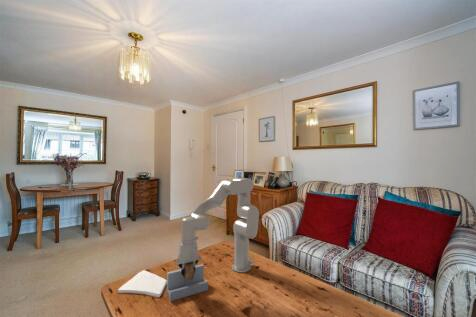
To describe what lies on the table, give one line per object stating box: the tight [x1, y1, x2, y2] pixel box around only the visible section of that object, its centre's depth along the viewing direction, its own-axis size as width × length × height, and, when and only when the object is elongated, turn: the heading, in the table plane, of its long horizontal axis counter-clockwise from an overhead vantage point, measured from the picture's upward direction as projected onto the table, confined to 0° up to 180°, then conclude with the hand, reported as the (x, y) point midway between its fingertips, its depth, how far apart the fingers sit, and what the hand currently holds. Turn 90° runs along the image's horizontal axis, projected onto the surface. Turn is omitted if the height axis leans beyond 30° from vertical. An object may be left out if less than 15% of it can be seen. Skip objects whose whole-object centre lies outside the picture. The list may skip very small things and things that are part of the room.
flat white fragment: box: [117, 269, 167, 298], centre depth 119 cm, size 21×4×25 cm
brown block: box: [184, 262, 194, 281], centre depth 113 cm, size 4×6×8 cm
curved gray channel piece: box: [166, 264, 209, 302], centre depth 114 cm, size 20×10×10 cm, turn 118°
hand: (188, 273), depth 113 cm, fingers closed on brown block, 4 cm apart
